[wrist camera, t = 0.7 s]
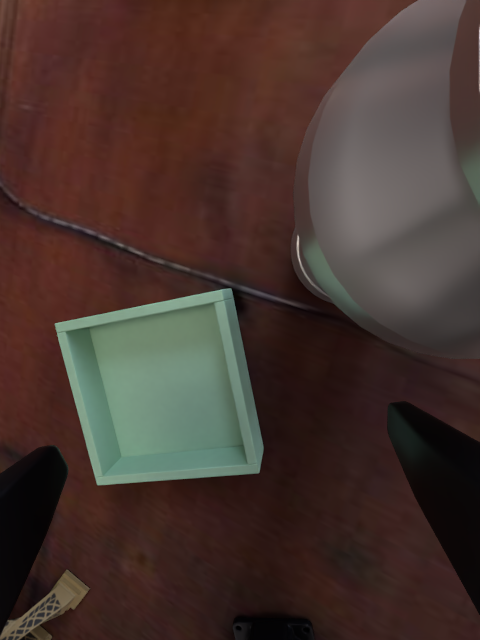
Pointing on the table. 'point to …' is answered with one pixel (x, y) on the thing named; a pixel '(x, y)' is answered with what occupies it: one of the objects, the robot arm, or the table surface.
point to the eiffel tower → (46, 610)
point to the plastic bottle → (399, 184)
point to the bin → (164, 390)
